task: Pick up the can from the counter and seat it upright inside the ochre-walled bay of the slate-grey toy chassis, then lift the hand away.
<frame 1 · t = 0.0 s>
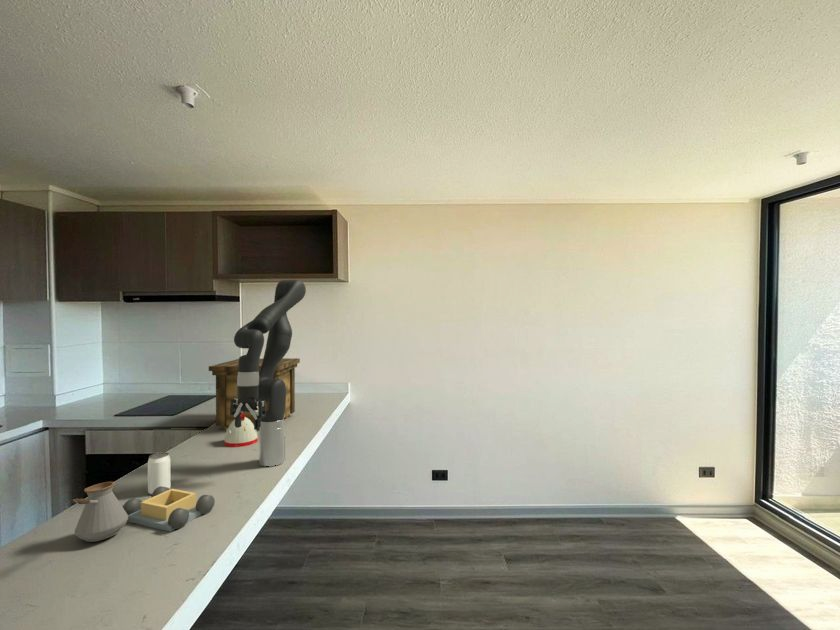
hand: (247, 428, 154), 17 cm above the counter, tool pointing down, fingers open, 8 cm apart
crate: (258, 422, 227), on the counter
coffee pot: (94, 544, 108), on the counter
can: (159, 491, 140), on the counter
chassis: (169, 514, 124), on the counter
kitchen timer: (241, 442, 193), on the counter
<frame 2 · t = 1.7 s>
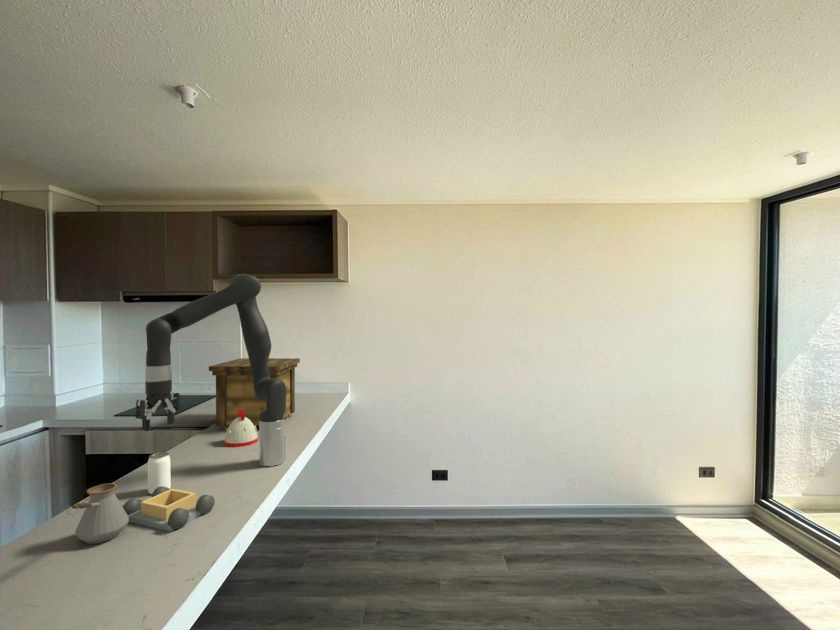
hand: (158, 427, 140), 21 cm above the counter, tool pointing down, fingers open, 8 cm apart
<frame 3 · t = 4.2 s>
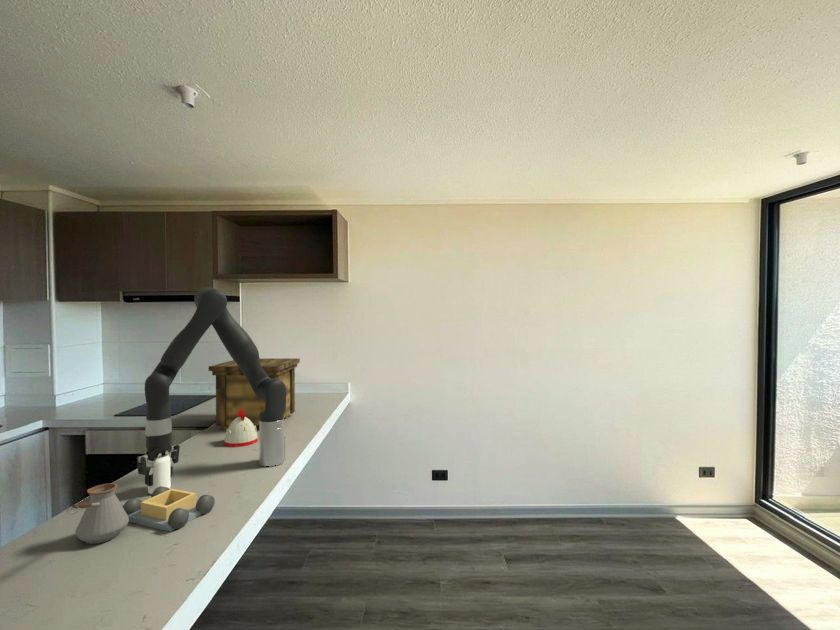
hand: (159, 481, 140), 3 cm above the counter, tool pointing down, fingers closed on can, 6 cm apart
can: (159, 491, 140), on the counter, touching gripper
everything else where it was.
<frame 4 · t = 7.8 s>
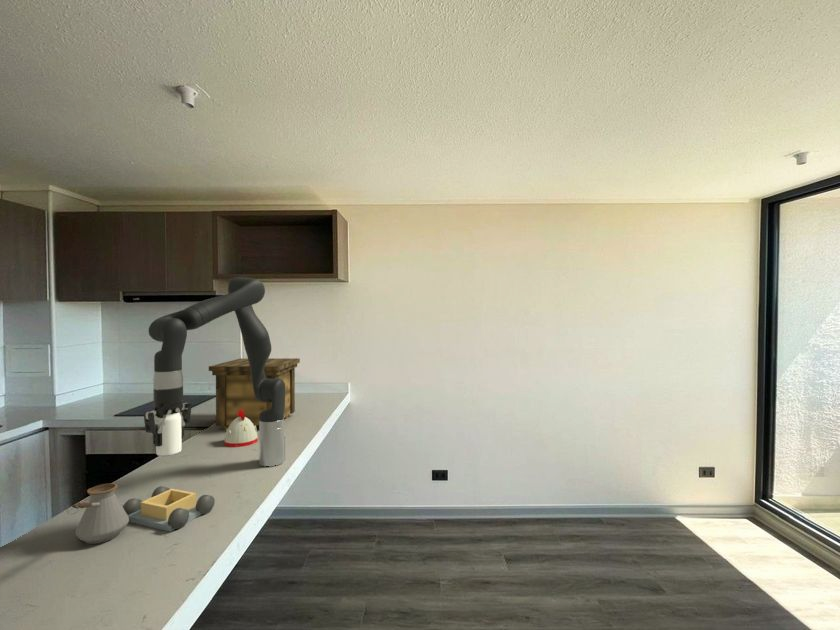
hand: (169, 442, 124), 21 cm above the counter, tool pointing down, fingers closed on can, 6 cm apart
can: (169, 453, 124), point 18 cm above the counter, touching gripper
everything else where it was.
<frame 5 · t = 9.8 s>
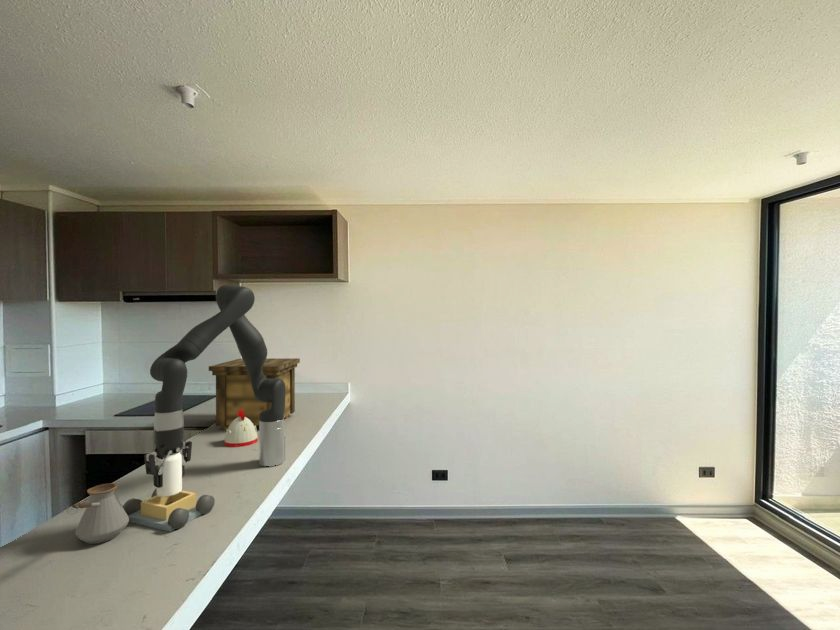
hand: (169, 482, 124), 10 cm above the counter, tool pointing down, fingers closed on can, 6 cm apart
can: (169, 493, 124), point 6 cm above the counter, touching gripper
everything else where it was.
when the fingers open (7 cm above the counter, at t = 11.5 s): can drops 2 cm, resting on chassis.
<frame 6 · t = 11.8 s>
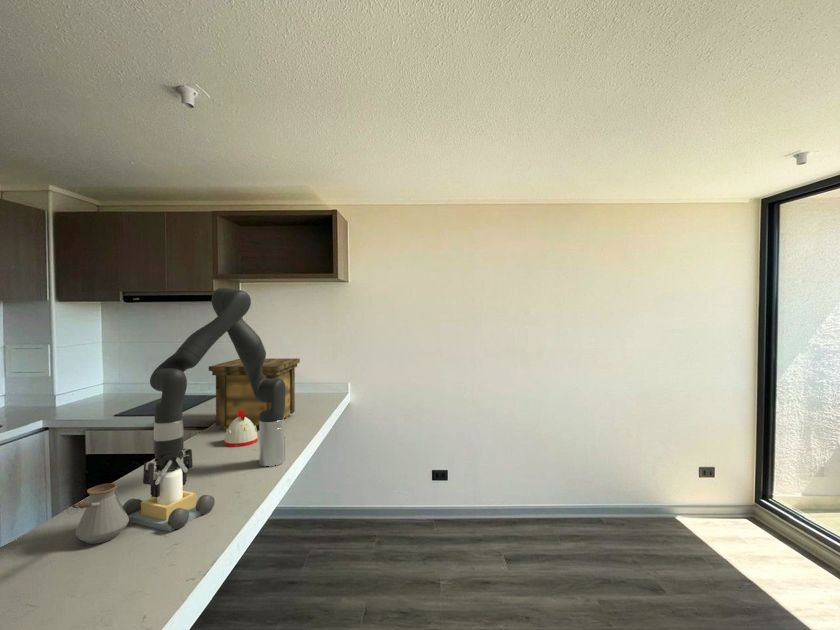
hand: (169, 490, 124), 7 cm above the counter, tool pointing down, fingers open, 8 cm apart
can: (170, 509, 124), point 1 cm above the counter, touching chassis
everything else where it was.
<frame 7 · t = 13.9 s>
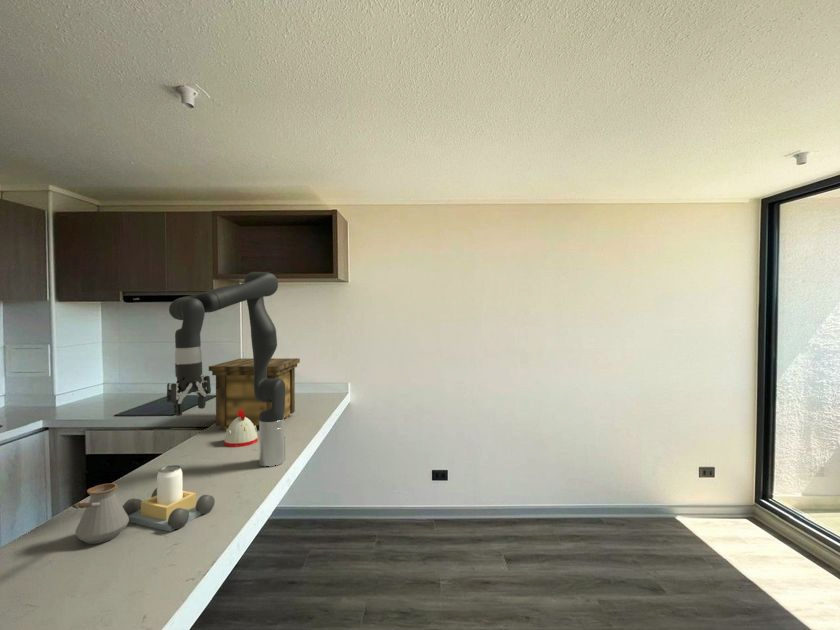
hand: (190, 411, 134), 28 cm above the counter, tool pointing down, fingers open, 8 cm apart
nothing on the counter moved.
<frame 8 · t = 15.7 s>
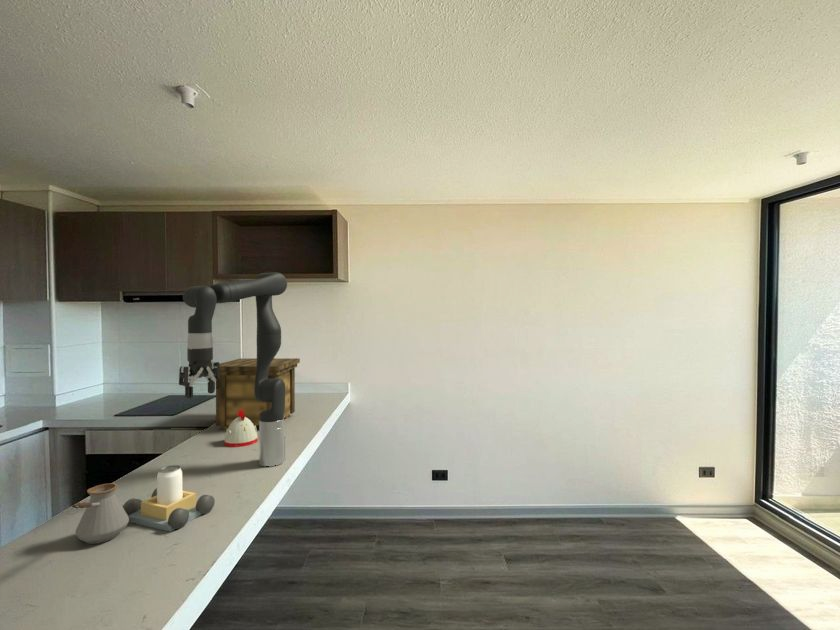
hand: (200, 395, 139), 32 cm above the counter, tool pointing down, fingers open, 8 cm apart
nothing on the counter moved.
at the end: can 0.3 cm off-centre on the chassis, point 1.3 cm above the chassis's base; can tilted 0°; the gripper is holding nothing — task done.
